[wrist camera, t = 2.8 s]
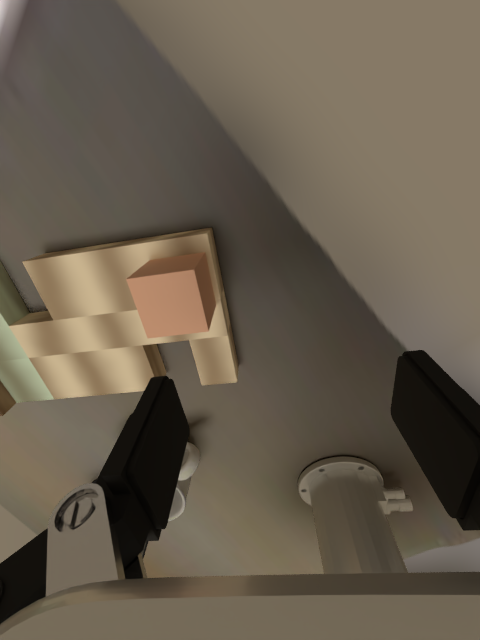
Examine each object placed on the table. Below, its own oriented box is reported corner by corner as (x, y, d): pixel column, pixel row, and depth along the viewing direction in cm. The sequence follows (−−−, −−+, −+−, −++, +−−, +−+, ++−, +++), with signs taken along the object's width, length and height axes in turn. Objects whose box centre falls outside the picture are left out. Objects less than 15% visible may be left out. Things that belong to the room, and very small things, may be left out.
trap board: (211, 227, 25) (203, 238, 21) (238, 365, 32) (236, 395, 28) (-52, 268, 28) (-109, 285, 24) (27, 386, 35) (-5, 416, 31)
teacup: (153, 472, 43) (133, 530, 36) (108, 430, 39) (76, 486, 32) (229, 448, 40) (224, 507, 32) (189, 398, 35) (174, 454, 28)
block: (205, 251, 23) (193, 269, 19) (216, 304, 25) (208, 331, 21) (149, 260, 24) (126, 279, 19) (165, 311, 26) (147, 338, 21)
